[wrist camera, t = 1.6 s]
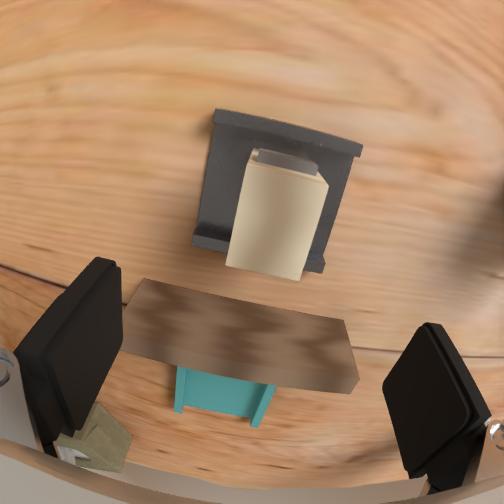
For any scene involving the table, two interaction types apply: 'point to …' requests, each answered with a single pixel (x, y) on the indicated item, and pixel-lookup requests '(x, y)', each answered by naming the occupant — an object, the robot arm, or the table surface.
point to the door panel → (238, 339)
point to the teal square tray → (222, 394)
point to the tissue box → (96, 442)
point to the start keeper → (234, 165)
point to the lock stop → (276, 214)
